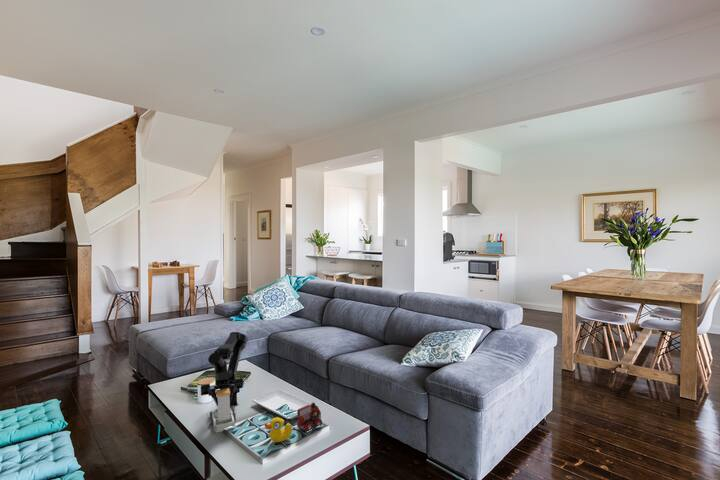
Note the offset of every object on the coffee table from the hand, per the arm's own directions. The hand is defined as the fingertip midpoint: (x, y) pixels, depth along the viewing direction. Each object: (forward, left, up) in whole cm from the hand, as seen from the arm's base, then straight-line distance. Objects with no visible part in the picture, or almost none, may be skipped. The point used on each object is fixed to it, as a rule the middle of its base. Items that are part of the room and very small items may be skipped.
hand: (223, 404), depth 171 cm
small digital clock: (0, -5, -11) cm, 12 cm away
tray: (-28, -7, -11) cm, 32 cm away
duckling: (-20, +23, -11) cm, 32 cm away
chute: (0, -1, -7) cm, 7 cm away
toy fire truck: (-35, +18, -11) cm, 41 cm away
